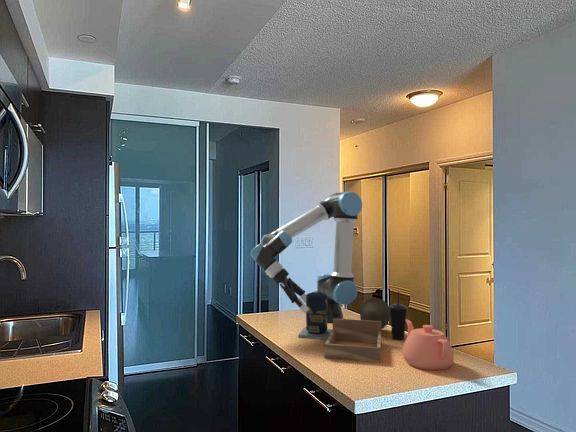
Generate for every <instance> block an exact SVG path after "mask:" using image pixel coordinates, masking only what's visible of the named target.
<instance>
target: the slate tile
mask: <svg viewBox="0 0 576 432" xmlns="http://www.w3.org/2000/svg"><path fill="white" fill-rule="evenodd" d="M332 329H333V328H327V331H326V332H324V333H311V332H308V331H307V330H306V327H303V328H302V330H301V331H300V332H299V333H298V336H297V337H298V338H301V339H303V338H304V339H305V338H306V339H320V340H321V339H322V340H327V339H328V337H329V335H330V333H331V331H332Z"/></svg>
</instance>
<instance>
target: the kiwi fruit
mask: <svg viewBox="0 0 576 432" xmlns="http://www.w3.org/2000/svg"><path fill="white" fill-rule="evenodd" d="M389 306H390V305H389V304H388V302H386V301H385V300H384V299H381V298H376V297H373V298H368V299H367V300H365V301H364V302H363V304H362V306H361V307H360V308H361V309H360V312H359V316H360V320H369V321H381V330H383V329H384V328H386V326H388V324H389V323H390V321H391V315H390V308H389Z"/></svg>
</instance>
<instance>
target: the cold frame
mask: <svg viewBox="0 0 576 432" xmlns="http://www.w3.org/2000/svg"><path fill="white" fill-rule="evenodd" d="M331 329H332V331H331V333H330V335H329V337H328V339H326V341H325V343H324V352H323V353H324V356H323V357H324V359H332V360H333V359H335V360H343V361H345V360H346V361H357V362H358V361H359V362H372V363H381V356H382V329H381V321H369V320H361V319H349V318H343V319H335V318H333V322H332V328H331ZM335 342H351V343H353V342H354V343H362V344H363V343H365V344H376V346H368V345H366V346H365V345H353V344H352V345H351V344H339V343H335Z"/></svg>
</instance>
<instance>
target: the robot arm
mask: <svg viewBox="0 0 576 432" xmlns="http://www.w3.org/2000/svg"><path fill="white" fill-rule="evenodd" d="M362 210H363V200H362V198H361V197H360V196H359V194H357V192H355V191H349V190H348V191H343V192H335V193H333V194H331V195H329V196H328V197H326V198H325V199H323V200H321V201H320V202H318V203H317V204H316V206H315V207H313V208H312V209H310V210H308V211H307V212H305V213H303V214H301V215H300V216H298V217H296V218H295V219H293V220H291V221H289V222H287V223H286V224H284V225H283V226H280V227H279V228H278V229H276V230H274V231H272V232H270V233H267V234H264V235H263V236H262V237H261V241H260V243H258V244H257V245H255V246H254V247H253V248H252V250H251V251H250V254H249V255H250V257H251V258H252V259H253V260H254V261H255V263H256V264H257V265H258V266H259V267H260V268H261V269H262V270H263V271H264V273H265V275H266V276H268V277H269V278H271V280H272V282H274V283H275V284H276V285H277V286H280V288H281V289H282V290H283V291H284V293H285V295H286V296H287V297H288V299H289V300H290V302H291V304H295V305H296V306H297V308H299V309H300V310H301V312H302V313H304V314H305V315H306V312H307V311H308V310H309V308H308V307H307V306H306V295H307V294H306V291H305V290H304V289H303V288H302V287H301V286H299V285H298V284H297V283H296V282H295V281H293V280H292V279H291V277H288V276H289V274H290V272H288V271H287V270H286V269H285V268H284V267H283V265H282V264H281V263H280V262H279V261H278V260H277V259H276V257H278V256H279V255H281V254H282V253H283V251H284V250H286V249H287V248H288V247H289V246H290V245H291V244H292V243H293V239H294V238H295V237H297V236H298V235H300V234H302V233H303V232H305V231H307V230H308V229H310V228H313V226H316V225H317V224H319V223H320V222H322V221H327V220H329V219H331V218H333V220H334V221H335V223H336V224H335V225H336V226H335V237H334V253H333V254H334V256H333V271H332V272H331V273H330V274H319V275H318V276H317V281H316V283H317V290H316V291H319V292H322V293H325V294H327V310H328V312H327V323H333V318H335V319H344V313H343V310H342V309H343V308H342V307H341V305H349V304H351V303H352V302H354V300H355V299H356V297H357V295H358V287H357V285H356V284H355V281H354V280H355V277H354V274H353V273H352V262H353V247H354V246H353V244H354V229H355V223H356V222H357V221H358V218H359V217H358V215H359V213H361V211H362ZM319 292H318V293H319ZM297 295H298V296H299V297H298V296H297Z"/></svg>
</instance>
